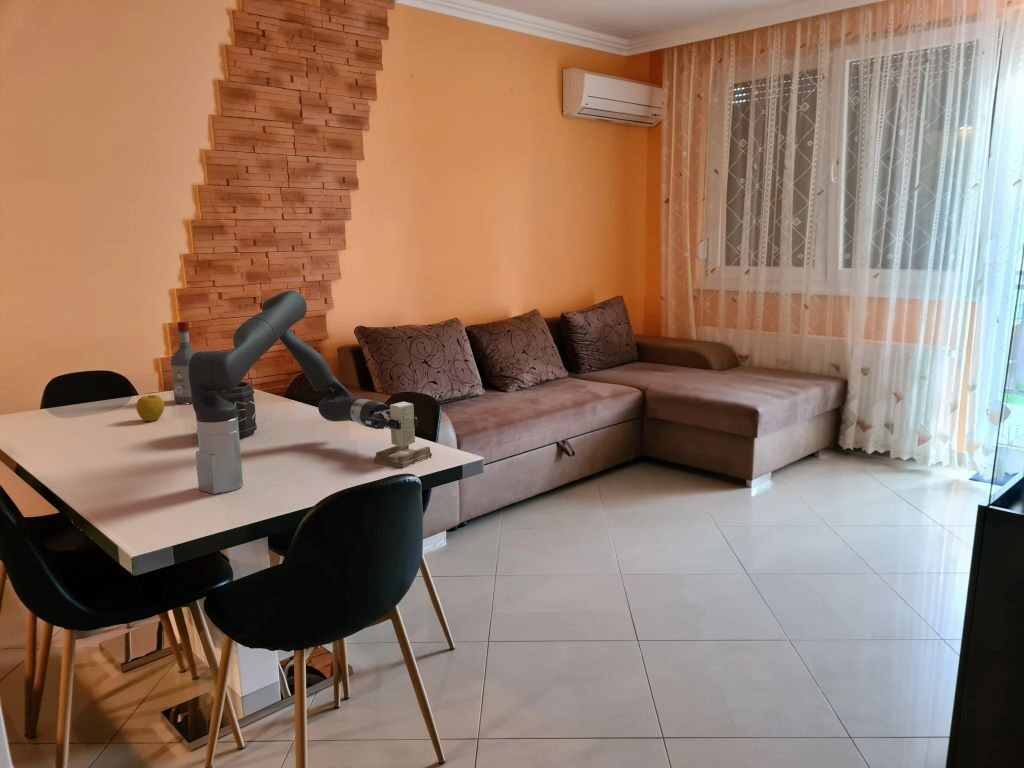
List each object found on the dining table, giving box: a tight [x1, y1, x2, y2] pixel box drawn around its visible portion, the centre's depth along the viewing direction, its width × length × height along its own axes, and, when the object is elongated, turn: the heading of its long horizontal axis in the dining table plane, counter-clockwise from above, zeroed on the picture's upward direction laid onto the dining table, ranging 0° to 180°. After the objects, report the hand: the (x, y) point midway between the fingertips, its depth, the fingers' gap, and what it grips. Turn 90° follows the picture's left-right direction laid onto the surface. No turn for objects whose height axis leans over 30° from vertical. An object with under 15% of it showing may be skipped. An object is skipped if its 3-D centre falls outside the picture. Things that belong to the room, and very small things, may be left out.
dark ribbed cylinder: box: [196, 380, 258, 440], centre depth 229 cm, size 18×18×16 cm
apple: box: [135, 394, 165, 422], centre depth 249 cm, size 8×8×9 cm
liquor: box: [170, 321, 197, 404], centre depth 278 cm, size 9×9×30 cm
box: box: [389, 401, 416, 447], centre depth 201 cm, size 5×4×11 cm
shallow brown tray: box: [374, 444, 433, 468], centre depth 203 cm, size 12×10×3 cm
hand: (408, 423), depth 200 cm, fingers closed on box, 5 cm apart
